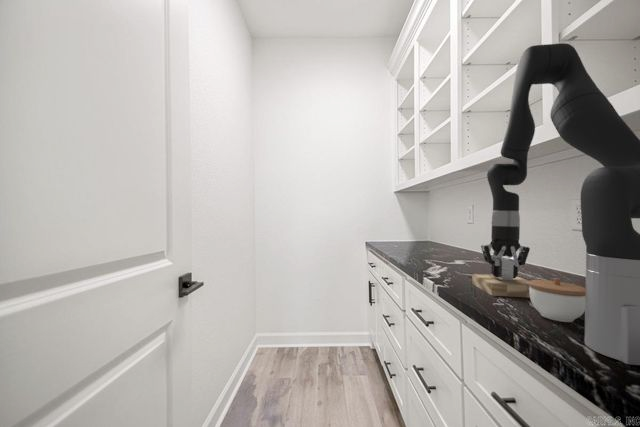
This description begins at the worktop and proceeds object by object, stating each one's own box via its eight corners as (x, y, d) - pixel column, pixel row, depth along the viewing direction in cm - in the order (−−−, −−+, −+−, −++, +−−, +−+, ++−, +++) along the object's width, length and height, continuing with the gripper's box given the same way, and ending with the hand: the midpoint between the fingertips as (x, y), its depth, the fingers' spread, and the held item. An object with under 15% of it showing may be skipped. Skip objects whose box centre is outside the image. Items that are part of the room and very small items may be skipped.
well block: (542, 298, 80) (542, 286, 80) (491, 295, 82) (492, 283, 82) (514, 285, 94) (514, 275, 94) (471, 283, 96) (472, 273, 96)
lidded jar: (533, 320, 63) (534, 280, 63) (524, 306, 72) (524, 271, 72) (596, 330, 58) (597, 286, 58) (577, 314, 67) (578, 276, 67)
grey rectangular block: (512, 292, 86) (513, 260, 86) (501, 291, 86) (502, 260, 86) (506, 289, 89) (507, 258, 89) (494, 288, 90) (495, 258, 89)
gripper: (487, 224, 85) (486, 279, 85) (537, 226, 83) (536, 281, 83) (476, 224, 92) (475, 273, 92) (522, 225, 91) (521, 275, 90)
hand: (504, 277), depth 88 cm, fingers open, 4 cm apart
